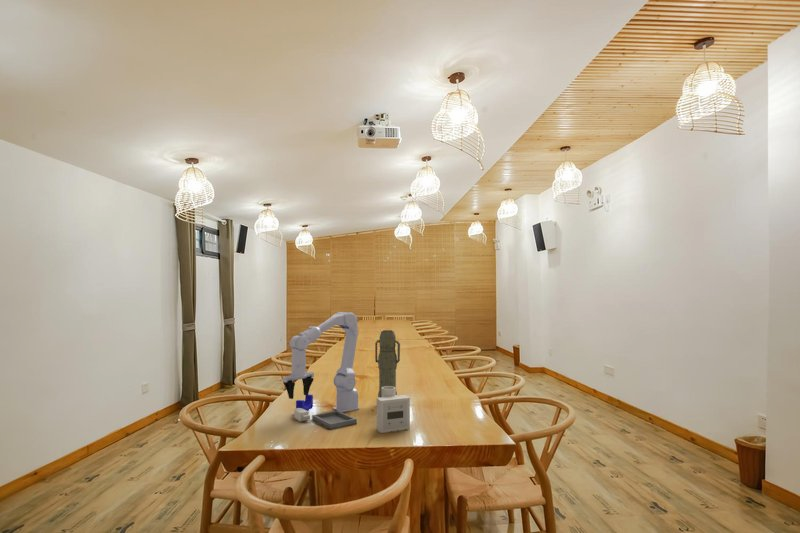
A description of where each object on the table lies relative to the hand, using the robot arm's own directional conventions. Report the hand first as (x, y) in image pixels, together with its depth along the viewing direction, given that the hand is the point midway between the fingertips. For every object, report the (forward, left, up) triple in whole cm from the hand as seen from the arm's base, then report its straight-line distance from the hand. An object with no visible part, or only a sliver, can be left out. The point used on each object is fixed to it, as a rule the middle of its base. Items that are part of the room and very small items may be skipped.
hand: (298, 396), depth 187 cm
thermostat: (-25, +31, -10) cm, 41 cm away
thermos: (-43, +4, -10) cm, 44 cm away
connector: (-1, +1, -9) cm, 9 cm away
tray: (-10, +13, -9) cm, 19 cm away
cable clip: (-7, -11, -10) cm, 17 cm away
